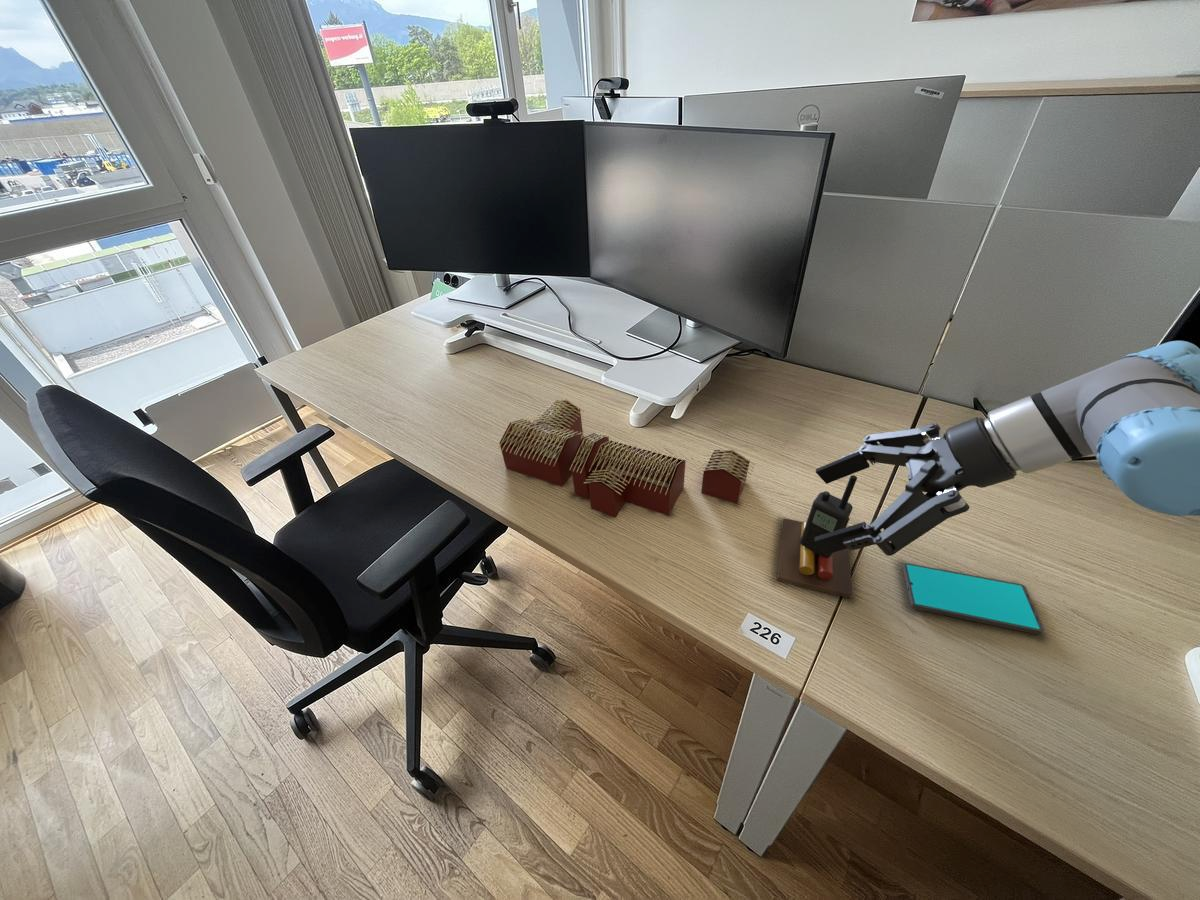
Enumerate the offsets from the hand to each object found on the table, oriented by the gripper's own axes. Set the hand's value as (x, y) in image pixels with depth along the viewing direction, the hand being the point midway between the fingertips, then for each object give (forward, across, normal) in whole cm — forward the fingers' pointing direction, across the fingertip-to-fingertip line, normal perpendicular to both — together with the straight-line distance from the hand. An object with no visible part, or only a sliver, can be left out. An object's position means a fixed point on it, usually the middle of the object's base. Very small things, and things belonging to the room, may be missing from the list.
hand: (820, 508), depth 65 cm
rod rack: (+7, 0, -9) cm, 11 cm away
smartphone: (-8, -1, -23) cm, 24 cm away
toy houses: (+31, +10, +15) cm, 36 cm away
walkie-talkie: (+5, 0, -7) cm, 8 cm away
